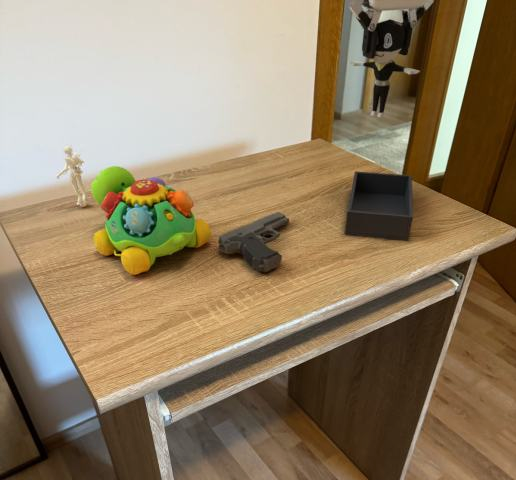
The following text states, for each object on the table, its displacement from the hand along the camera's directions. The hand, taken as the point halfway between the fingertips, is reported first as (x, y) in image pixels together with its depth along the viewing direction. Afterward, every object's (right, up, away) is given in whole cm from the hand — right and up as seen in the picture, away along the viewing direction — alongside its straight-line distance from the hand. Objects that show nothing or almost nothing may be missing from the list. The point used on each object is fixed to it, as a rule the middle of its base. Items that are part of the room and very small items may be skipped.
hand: (385, 54), depth 84 cm
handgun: (-20, -33, +1) cm, 39 cm away
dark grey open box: (+1, -25, +10) cm, 27 cm away
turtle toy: (-42, -32, +3) cm, 53 cm away
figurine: (-58, -23, +14) cm, 64 cm away
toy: (0, -8, +7) cm, 10 cm away
